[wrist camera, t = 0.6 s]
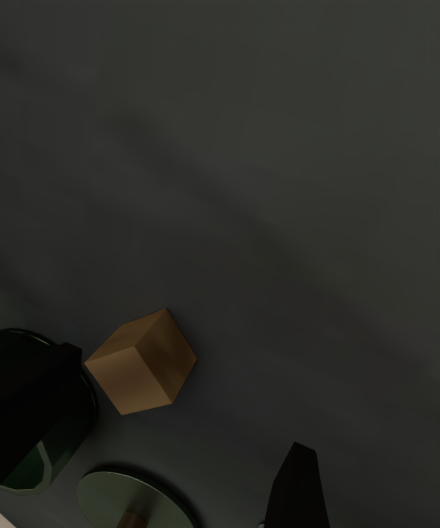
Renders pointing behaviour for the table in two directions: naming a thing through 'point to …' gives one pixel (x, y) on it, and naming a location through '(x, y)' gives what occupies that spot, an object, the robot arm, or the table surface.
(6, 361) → the bowl
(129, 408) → the block
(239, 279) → the table surface
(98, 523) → the lid
